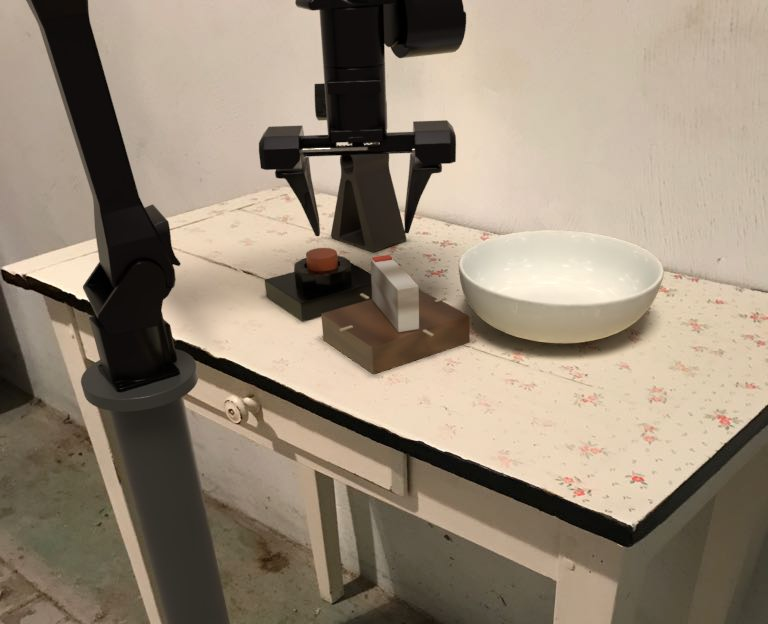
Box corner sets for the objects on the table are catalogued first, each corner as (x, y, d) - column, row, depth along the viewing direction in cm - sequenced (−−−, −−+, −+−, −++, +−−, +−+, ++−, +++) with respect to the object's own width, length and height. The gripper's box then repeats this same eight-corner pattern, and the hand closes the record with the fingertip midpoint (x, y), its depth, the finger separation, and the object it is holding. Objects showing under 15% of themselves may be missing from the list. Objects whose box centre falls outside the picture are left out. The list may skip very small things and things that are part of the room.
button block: (302, 321, 92) (299, 287, 89) (266, 297, 98) (262, 264, 96) (384, 298, 96) (383, 264, 94) (345, 275, 103) (343, 244, 100)
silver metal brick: (419, 329, 82) (418, 283, 79) (398, 332, 81) (397, 286, 79) (391, 296, 89) (390, 253, 86) (372, 299, 88) (370, 256, 86)
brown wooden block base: (377, 382, 80) (375, 352, 78) (311, 336, 89) (308, 308, 87) (483, 346, 85) (484, 317, 83) (411, 306, 94) (410, 279, 92)
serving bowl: (500, 382, 79) (504, 314, 75) (432, 301, 95) (432, 242, 91) (692, 350, 83) (706, 284, 79) (596, 278, 99) (603, 220, 95)
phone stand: (406, 241, 112) (405, 148, 105) (374, 253, 109) (370, 157, 102) (363, 227, 117) (358, 137, 110) (330, 238, 114) (324, 146, 107)
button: (316, 276, 93) (315, 260, 92) (301, 267, 96) (300, 252, 94) (343, 268, 95) (342, 253, 94) (328, 260, 97) (327, 245, 96)
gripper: (449, 47, 82) (447, 207, 91) (263, 54, 82) (279, 212, 91) (458, 65, 73) (454, 240, 82) (248, 73, 73) (269, 246, 83)
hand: (362, 233), depth 85 cm, fingers open, 9 cm apart
